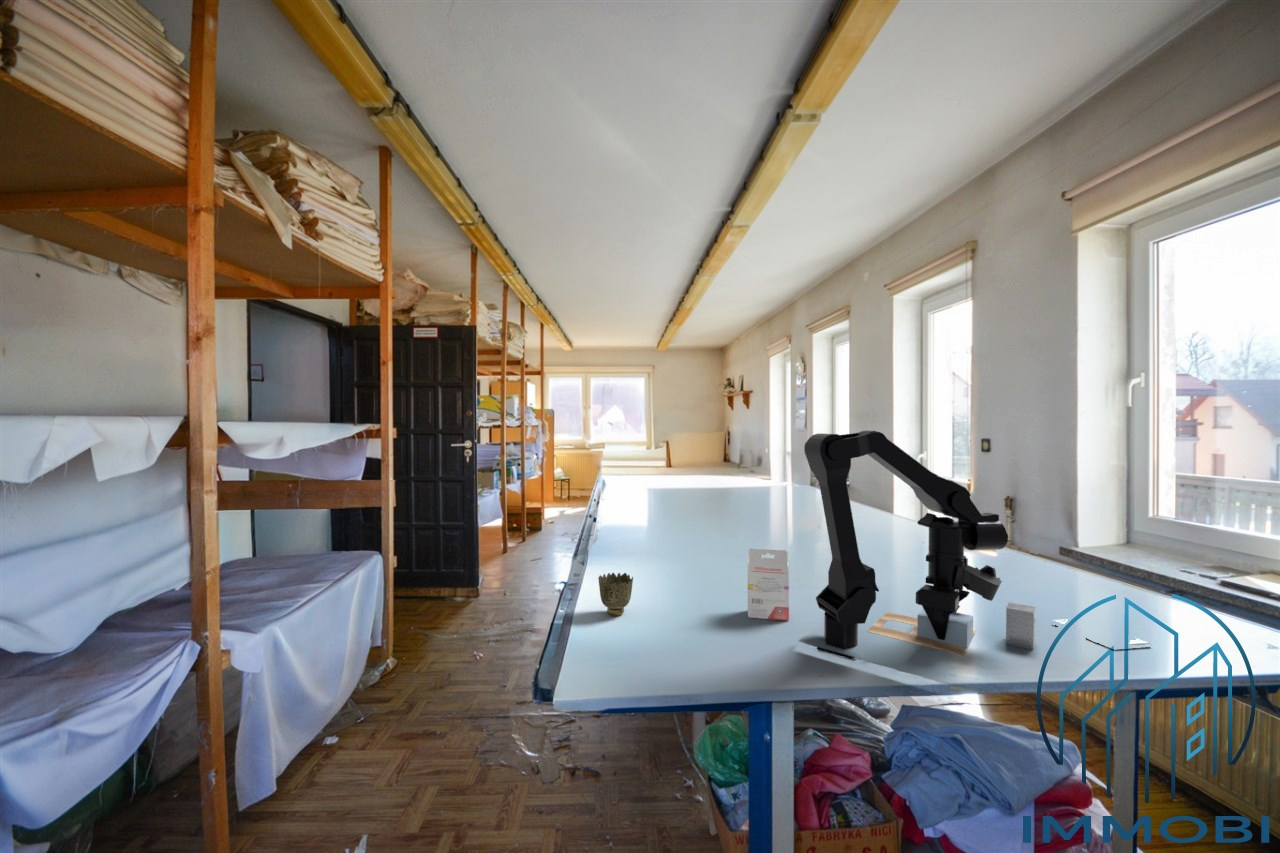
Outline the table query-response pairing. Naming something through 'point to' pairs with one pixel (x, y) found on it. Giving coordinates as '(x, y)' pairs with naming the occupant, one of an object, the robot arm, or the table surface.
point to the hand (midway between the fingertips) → (945, 633)
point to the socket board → (912, 633)
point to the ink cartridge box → (768, 585)
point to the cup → (615, 592)
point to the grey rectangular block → (1020, 625)
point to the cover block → (948, 629)
